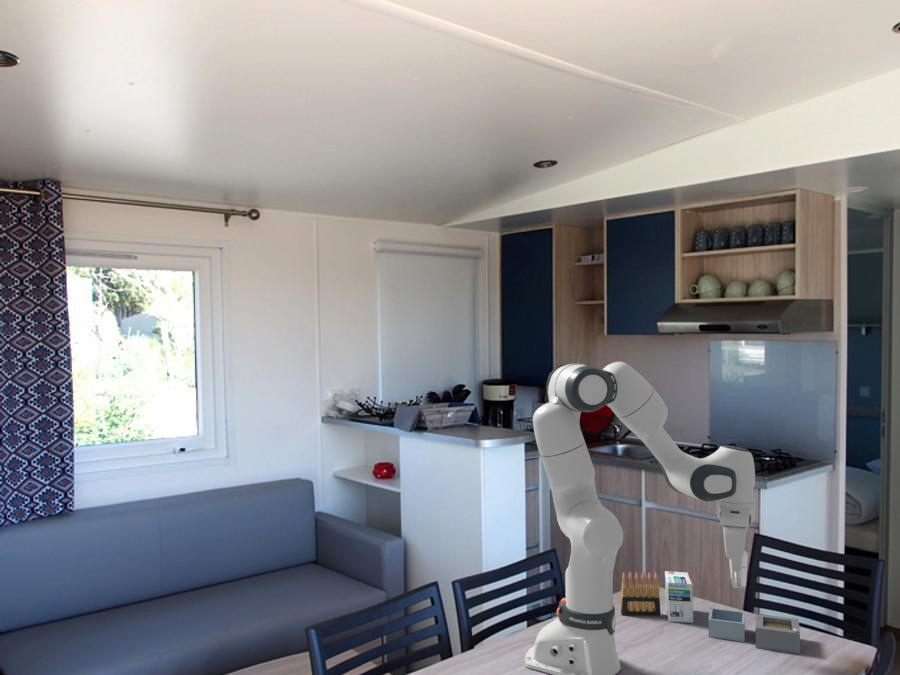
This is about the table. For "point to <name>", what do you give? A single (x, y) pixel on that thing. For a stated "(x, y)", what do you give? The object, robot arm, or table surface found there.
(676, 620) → the light bulb box
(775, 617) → the square frame
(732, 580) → the milkshake
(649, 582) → the ammunition clip
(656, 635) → the table surface
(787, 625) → the plain tan rectangular plate
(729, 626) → the bin
